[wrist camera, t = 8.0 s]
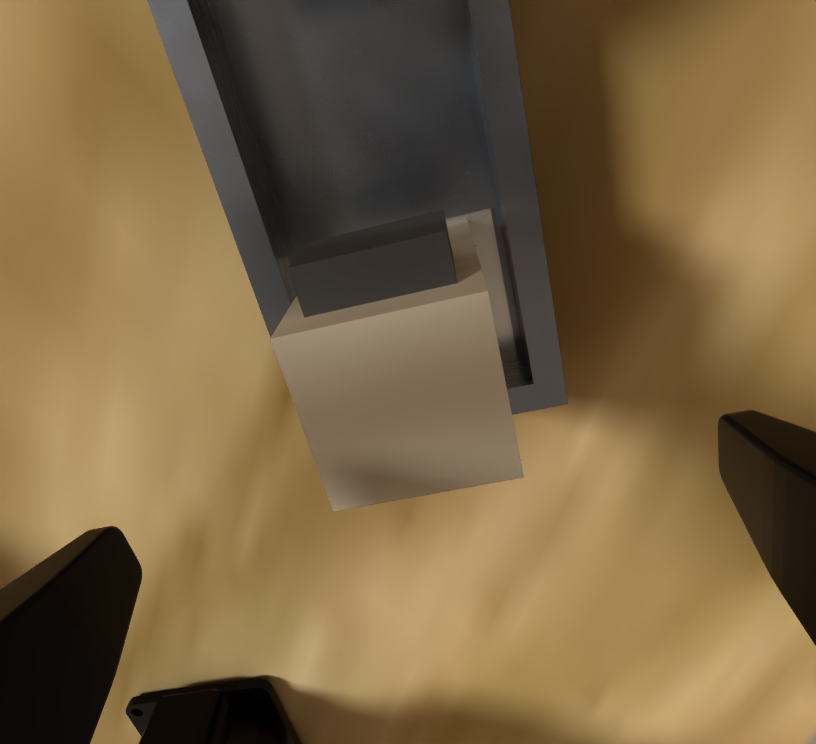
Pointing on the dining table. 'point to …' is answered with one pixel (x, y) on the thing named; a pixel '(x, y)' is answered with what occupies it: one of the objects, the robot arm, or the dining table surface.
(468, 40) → the rail
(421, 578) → the dining table surface
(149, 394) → the dining table surface
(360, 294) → the block
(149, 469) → the dining table surface
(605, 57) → the dining table surface
